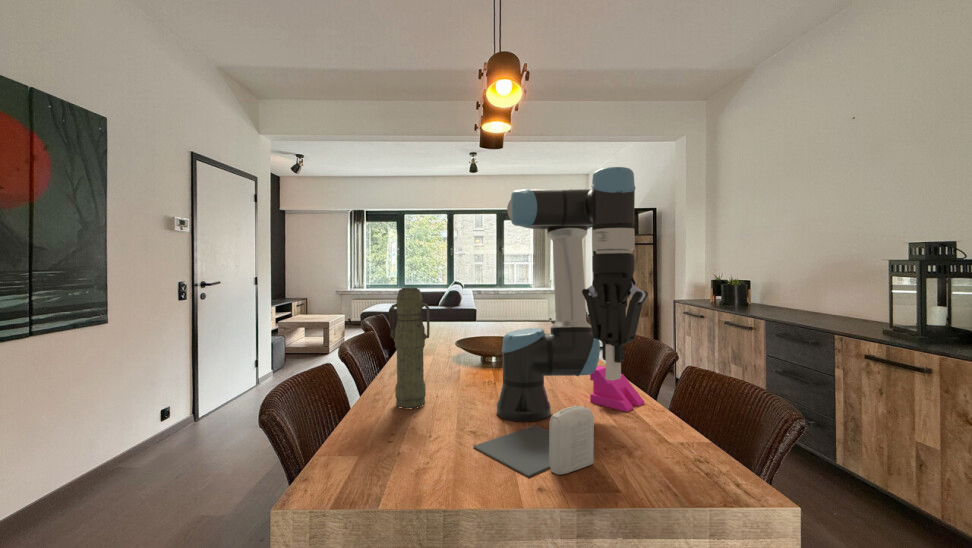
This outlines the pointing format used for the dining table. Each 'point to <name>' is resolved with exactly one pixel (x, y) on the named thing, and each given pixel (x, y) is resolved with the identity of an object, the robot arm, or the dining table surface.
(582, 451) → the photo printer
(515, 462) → the mat
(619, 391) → the bracket
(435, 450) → the dining table surface
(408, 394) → the thermos
